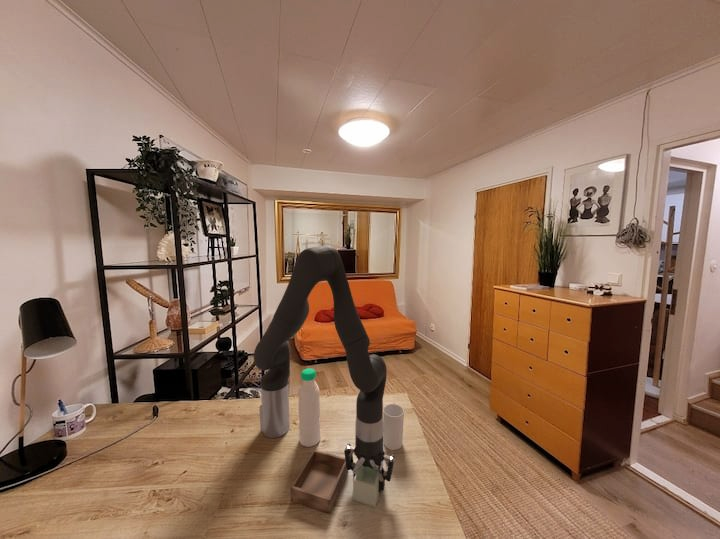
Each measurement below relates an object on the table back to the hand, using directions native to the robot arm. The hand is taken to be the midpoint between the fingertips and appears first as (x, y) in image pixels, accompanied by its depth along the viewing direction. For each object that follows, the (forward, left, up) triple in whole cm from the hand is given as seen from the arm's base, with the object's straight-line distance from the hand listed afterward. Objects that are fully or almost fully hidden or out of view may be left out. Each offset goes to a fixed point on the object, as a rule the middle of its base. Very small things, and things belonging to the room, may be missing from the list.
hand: (368, 486), depth 74 cm
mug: (+3, +20, -1) cm, 20 cm away
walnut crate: (-13, -3, -1) cm, 13 cm away
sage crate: (0, 0, -1) cm, 1 cm away
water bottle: (-24, +11, -1) cm, 26 cm away
